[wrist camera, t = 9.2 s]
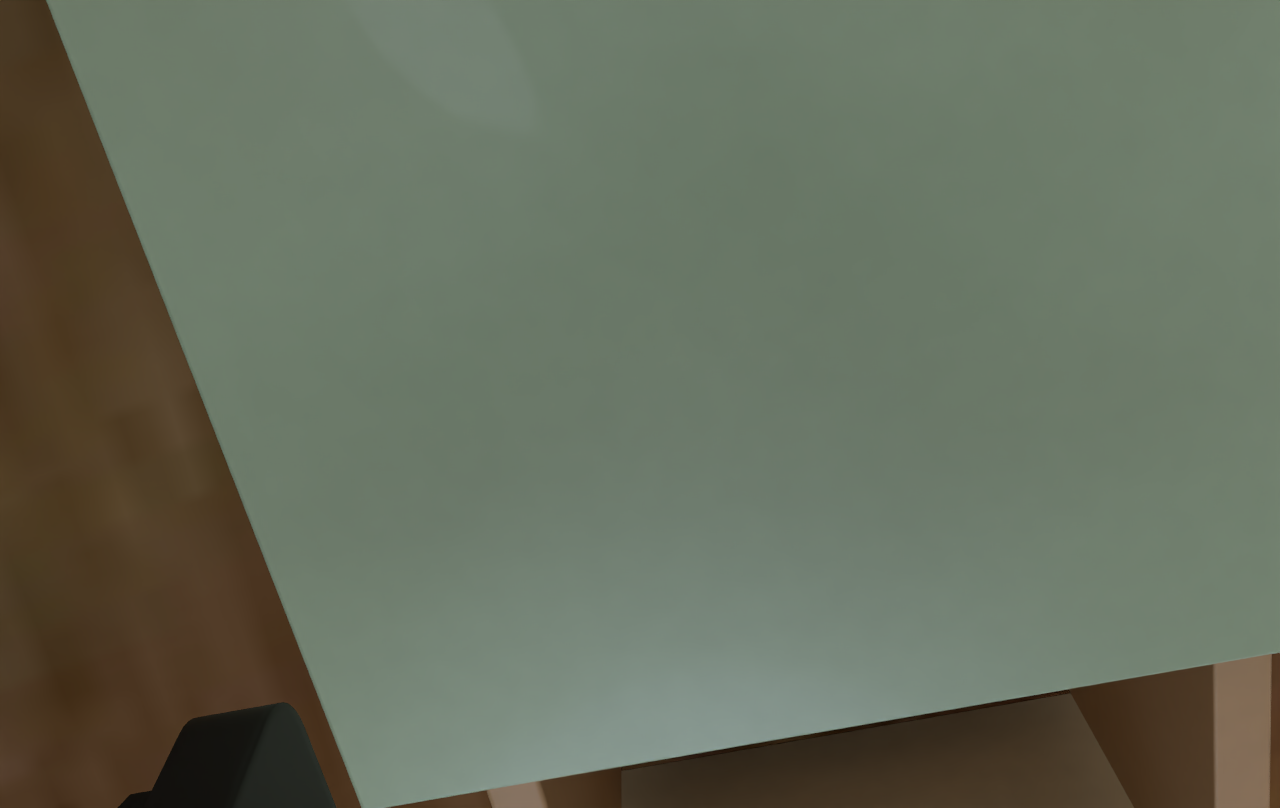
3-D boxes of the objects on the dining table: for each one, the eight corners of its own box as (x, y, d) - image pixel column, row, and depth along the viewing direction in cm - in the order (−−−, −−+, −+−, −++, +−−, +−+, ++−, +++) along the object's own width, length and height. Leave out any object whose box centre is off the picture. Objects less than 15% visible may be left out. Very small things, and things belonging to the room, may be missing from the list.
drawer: (1129, 934, 29) (1308, 1304, 22) (638, 1012, 30) (644, 1394, 22) (1085, 80, 21) (1352, 193, 13) (406, 221, 22) (289, 405, 14)
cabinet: (1113, 338, 24) (1426, 629, 14) (458, 465, 25) (362, 814, 15) (1068, -624, 18) (1568, -1188, 8) (196, -406, 18) (-230, -694, 9)
